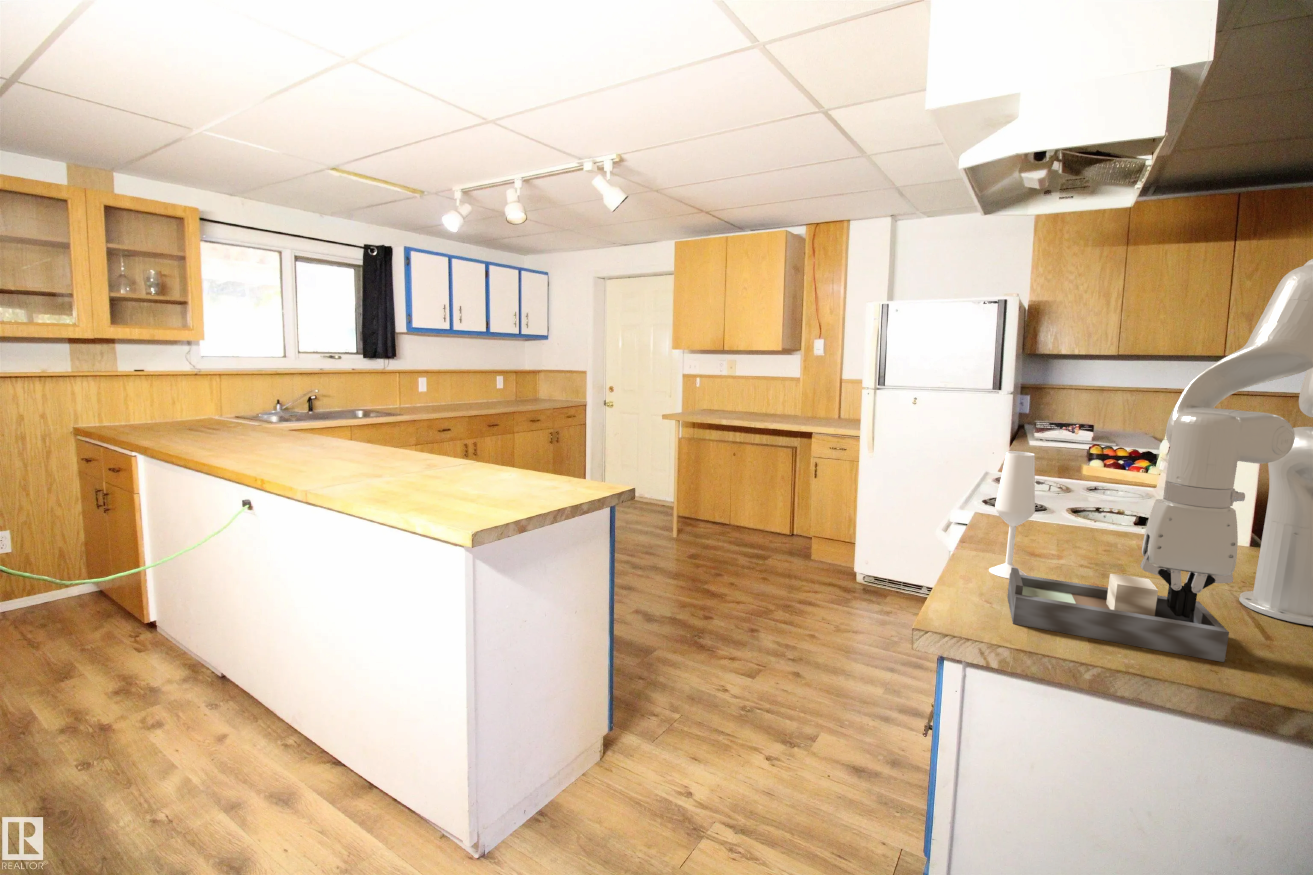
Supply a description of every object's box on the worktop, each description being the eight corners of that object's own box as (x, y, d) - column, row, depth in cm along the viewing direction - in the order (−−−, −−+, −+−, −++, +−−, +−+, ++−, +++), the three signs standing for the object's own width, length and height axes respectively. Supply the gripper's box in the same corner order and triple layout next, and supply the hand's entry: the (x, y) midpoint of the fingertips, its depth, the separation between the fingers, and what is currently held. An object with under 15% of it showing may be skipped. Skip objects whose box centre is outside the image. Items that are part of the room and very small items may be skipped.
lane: (1194, 628, 97) (1200, 592, 96) (1224, 662, 86) (1230, 622, 85) (1007, 597, 108) (1010, 564, 107) (1012, 623, 97) (1016, 587, 96)
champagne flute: (992, 564, 125) (1003, 449, 121) (1030, 572, 120) (1043, 453, 117) (985, 573, 120) (997, 453, 116) (1024, 582, 115) (1038, 457, 112)
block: (1144, 609, 96) (1148, 579, 96) (1153, 621, 92) (1158, 589, 91) (1106, 602, 99) (1110, 573, 98) (1113, 614, 94) (1117, 583, 93)
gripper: (1252, 496, 90) (1233, 614, 93) (1127, 485, 96) (1113, 595, 99) (1276, 508, 83) (1255, 634, 86) (1141, 495, 90) (1125, 613, 92)
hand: (1179, 613), depth 92 cm, fingers closed
